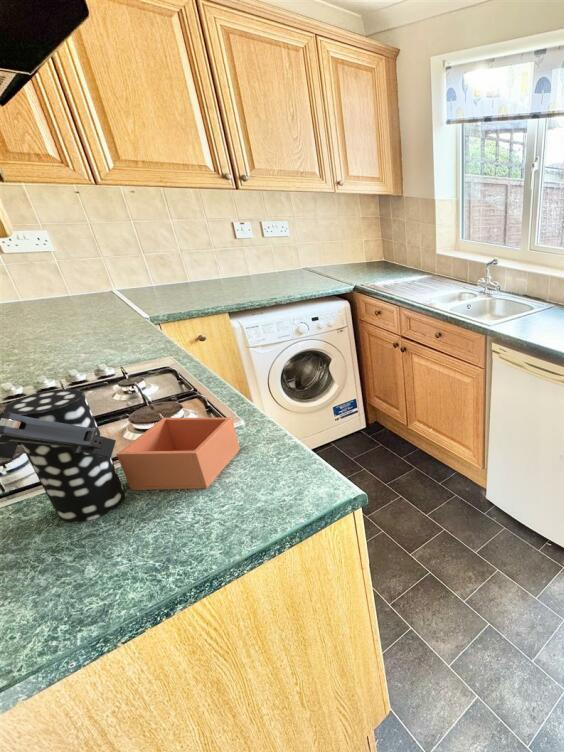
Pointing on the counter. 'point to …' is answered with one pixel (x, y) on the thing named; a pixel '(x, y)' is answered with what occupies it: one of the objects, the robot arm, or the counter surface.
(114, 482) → the white-spotted black cylinder
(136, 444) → the box
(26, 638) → the counter surface
